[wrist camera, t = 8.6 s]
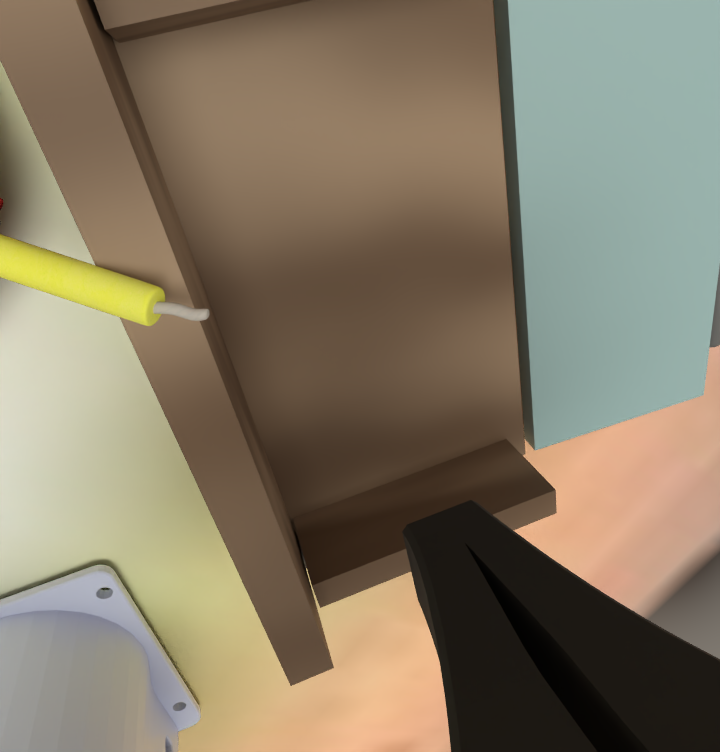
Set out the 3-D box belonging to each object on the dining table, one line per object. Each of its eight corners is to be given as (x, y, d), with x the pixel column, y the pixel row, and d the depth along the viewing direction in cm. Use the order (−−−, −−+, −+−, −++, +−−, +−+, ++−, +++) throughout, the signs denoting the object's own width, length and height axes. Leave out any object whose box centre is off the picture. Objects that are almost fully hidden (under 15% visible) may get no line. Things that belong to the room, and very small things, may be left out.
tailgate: (524, 438, 21) (703, 380, 22) (535, 450, 21) (719, 389, 21) (487, -88, 13) (768, -150, 14) (501, -97, 13) (797, -162, 14)
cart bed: (506, 448, 22) (616, 567, 17) (264, 539, 21) (298, 702, 15) (453, -118, 14) (648, -263, 8) (29, -34, 12) (-94, -143, 6)
